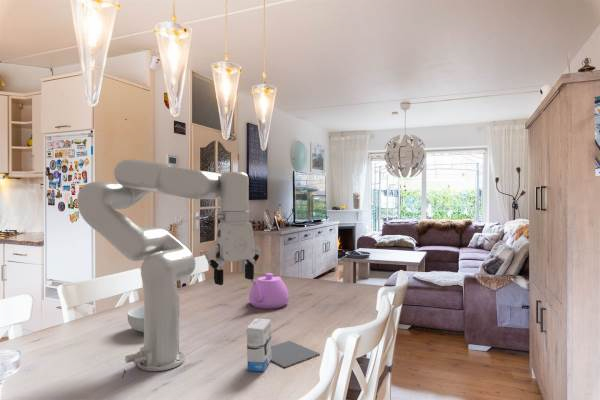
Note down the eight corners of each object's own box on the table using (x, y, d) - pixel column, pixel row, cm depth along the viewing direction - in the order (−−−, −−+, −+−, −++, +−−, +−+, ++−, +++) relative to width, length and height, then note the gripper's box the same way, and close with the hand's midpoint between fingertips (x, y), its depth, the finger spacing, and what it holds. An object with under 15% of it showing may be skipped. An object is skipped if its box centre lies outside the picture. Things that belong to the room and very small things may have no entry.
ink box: (264, 372, 104) (263, 329, 104) (246, 370, 105) (245, 328, 105) (272, 358, 113) (271, 318, 112) (256, 357, 114) (255, 317, 113)
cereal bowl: (123, 340, 127) (123, 319, 127) (131, 324, 143) (131, 305, 143) (177, 336, 131) (177, 315, 131) (179, 321, 147) (179, 302, 147)
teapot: (265, 296, 187) (266, 267, 187) (298, 301, 179) (298, 271, 179) (234, 308, 165) (234, 276, 164) (269, 315, 156) (270, 281, 156)
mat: (284, 368, 107) (284, 366, 107) (254, 352, 118) (254, 351, 118) (319, 354, 117) (319, 353, 117) (289, 341, 127) (289, 340, 127)
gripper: (213, 219, 95) (213, 289, 95) (268, 217, 107) (268, 279, 107) (198, 218, 101) (198, 284, 101) (252, 216, 113) (252, 275, 113)
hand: (234, 281), depth 104 cm, fingers open, 9 cm apart
